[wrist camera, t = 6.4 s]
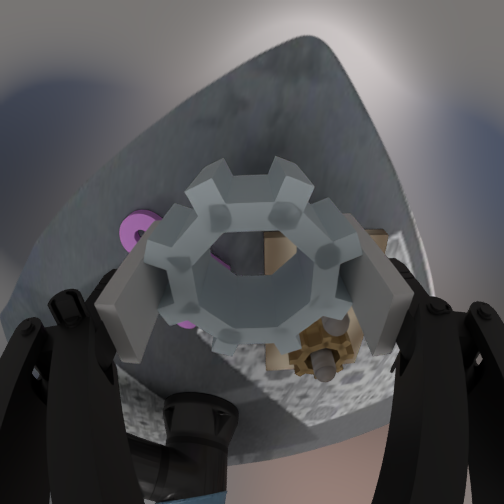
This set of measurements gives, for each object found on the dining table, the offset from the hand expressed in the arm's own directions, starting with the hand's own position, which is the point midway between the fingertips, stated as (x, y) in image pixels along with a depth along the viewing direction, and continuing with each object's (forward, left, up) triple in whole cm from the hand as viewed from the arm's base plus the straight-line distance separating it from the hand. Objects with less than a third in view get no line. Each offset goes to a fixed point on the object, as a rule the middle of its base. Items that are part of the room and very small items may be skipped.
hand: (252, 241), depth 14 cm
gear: (0, 0, 0) cm, 0 cm away
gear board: (+8, -17, -15) cm, 24 cm away
